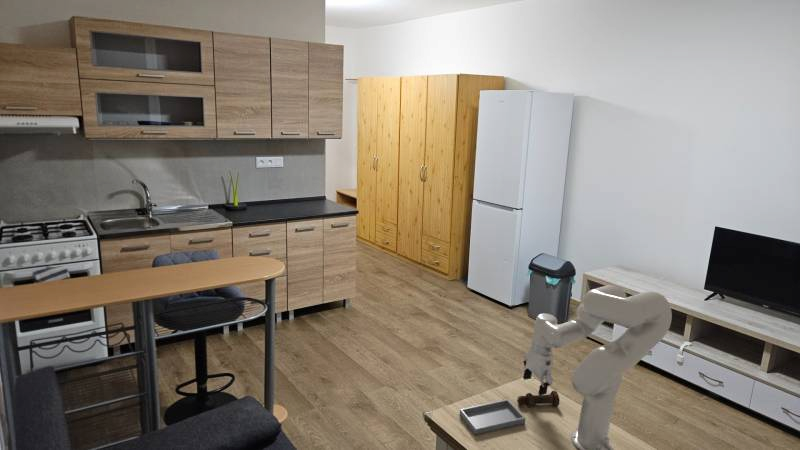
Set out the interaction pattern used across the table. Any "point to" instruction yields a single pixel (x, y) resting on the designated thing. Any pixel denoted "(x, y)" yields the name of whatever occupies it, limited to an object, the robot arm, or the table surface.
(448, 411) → the table surface
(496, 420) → the parts tray
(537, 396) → the bolt
